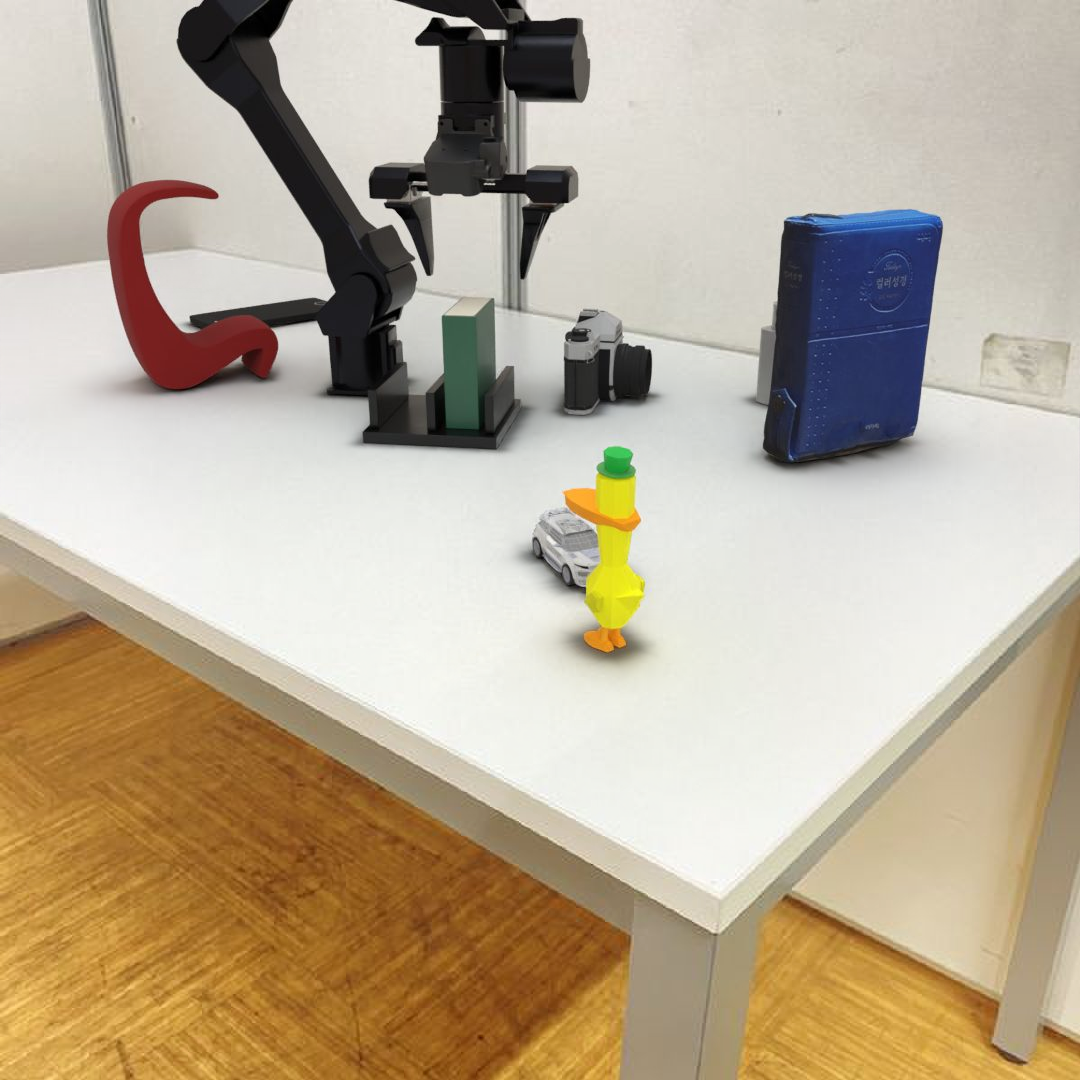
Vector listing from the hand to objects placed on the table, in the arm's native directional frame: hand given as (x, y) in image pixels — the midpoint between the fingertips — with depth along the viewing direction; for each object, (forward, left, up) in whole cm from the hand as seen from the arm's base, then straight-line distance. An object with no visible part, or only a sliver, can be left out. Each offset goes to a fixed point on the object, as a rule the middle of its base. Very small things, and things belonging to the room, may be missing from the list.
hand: (476, 277), depth 108 cm
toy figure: (+18, -48, -12) cm, 53 cm away
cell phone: (-34, +31, -12) cm, 47 cm away
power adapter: (+30, +4, -12) cm, 32 cm away
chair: (-30, +3, -12) cm, 33 cm away
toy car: (+15, -38, -12) cm, 43 cm away
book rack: (-1, -9, -12) cm, 15 cm away
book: (+34, -11, -12) cm, 38 cm away
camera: (+13, +2, -12) cm, 18 cm away
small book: (+1, -9, -11) cm, 14 cm away
